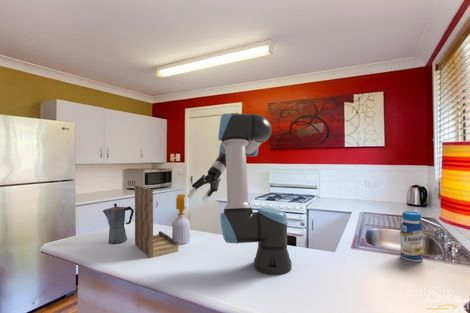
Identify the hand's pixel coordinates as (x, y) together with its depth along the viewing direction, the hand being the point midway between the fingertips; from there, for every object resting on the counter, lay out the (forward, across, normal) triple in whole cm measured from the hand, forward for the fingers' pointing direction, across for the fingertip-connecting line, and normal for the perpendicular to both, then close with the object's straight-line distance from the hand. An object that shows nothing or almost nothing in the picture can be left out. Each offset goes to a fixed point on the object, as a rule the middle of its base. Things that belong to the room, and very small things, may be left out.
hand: (196, 199), depth 147 cm
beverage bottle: (-17, -93, -47) cm, 105 cm away
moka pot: (+38, +25, +8) cm, 46 cm away
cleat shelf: (+32, +1, +2) cm, 32 cm away
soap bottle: (+22, 0, -8) cm, 24 cm away
